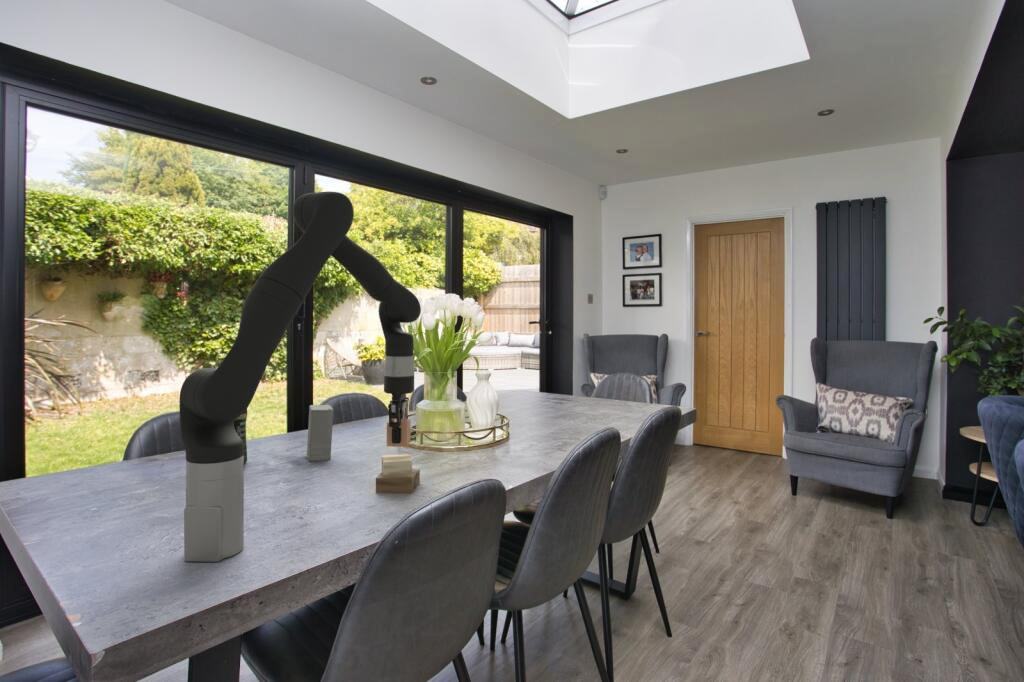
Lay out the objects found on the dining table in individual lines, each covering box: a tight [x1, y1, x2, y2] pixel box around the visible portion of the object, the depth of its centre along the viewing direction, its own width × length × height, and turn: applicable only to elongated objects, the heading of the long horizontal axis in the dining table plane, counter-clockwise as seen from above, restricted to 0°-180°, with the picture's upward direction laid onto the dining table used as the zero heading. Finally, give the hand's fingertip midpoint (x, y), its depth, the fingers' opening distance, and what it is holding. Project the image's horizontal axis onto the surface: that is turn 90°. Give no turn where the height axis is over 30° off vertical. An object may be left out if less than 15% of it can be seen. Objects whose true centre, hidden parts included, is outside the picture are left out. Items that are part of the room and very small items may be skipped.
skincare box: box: [306, 404, 334, 462], centre depth 169 cm, size 8×7×16 cm
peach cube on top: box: [386, 418, 412, 448], centre depth 140 cm, size 5×5×6 cm
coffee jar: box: [233, 408, 248, 465], centre depth 158 cm, size 10×8×19 cm
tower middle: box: [381, 453, 413, 478], centre depth 140 cm, size 7×7×4 cm
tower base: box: [375, 468, 421, 494], centre depth 141 cm, size 9×9×4 cm
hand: (398, 440), depth 140 cm, fingers closed on peach cube on top, 5 cm apart
